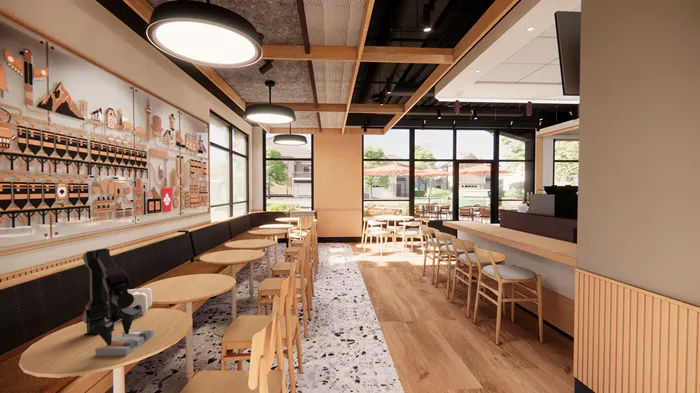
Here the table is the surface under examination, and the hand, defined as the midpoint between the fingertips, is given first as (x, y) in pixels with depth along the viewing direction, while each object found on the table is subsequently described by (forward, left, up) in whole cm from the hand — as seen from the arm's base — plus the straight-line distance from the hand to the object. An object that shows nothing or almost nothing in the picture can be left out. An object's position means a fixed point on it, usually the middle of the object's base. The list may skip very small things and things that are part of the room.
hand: (118, 339), depth 127 cm
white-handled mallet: (+1, +8, -4) cm, 9 cm away
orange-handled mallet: (0, 0, -4) cm, 4 cm away
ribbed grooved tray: (0, +4, -5) cm, 6 cm away
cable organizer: (-22, +38, -5) cm, 44 cm away
